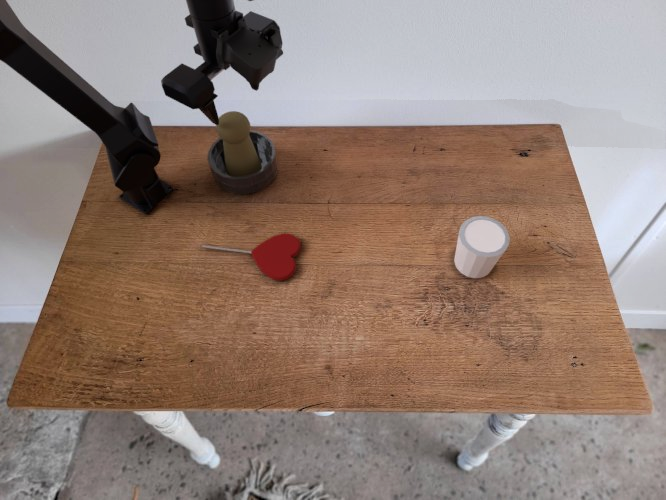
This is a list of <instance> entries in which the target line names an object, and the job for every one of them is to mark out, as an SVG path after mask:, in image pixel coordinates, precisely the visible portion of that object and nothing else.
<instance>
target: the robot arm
mask: <svg viewBox="0 0 666 500" xmlns="http://www.w3.org/2000/svg"><path fill="white" fill-rule="evenodd" d="M247 1H248V2H253V1H254V0H247ZM185 2H186V5H187V9H188V13H189V14H188V15H187V16H186V17H184V21H185V24H186V26H187V27H189V28H191V29H193V30H194V33H195V37H196V40H197V43H196V44H195V45H193V51H194V54H195V55H198V56H200V57H202V60H203V62H202V63H201V64H199V66H197V67H196V68H193V67H191V66H189V65H187V64H184V63H180V64H179V65H177V66H176V67H175V68H174V69H172V70H171V71H169V72H168V73H167V74H166V75H164V76H163V77H162V78H161V80H160V83H161V88H162V90H163V92H164V95H165V96H166V97H168V98H169V99H172V100H174V101H175V102H178V103H179V104H182V105H184V106H185V107H188V108H190V109H191V110H200V112H201V113H202V114H203V116H205V117H206V118H207V119H208V120H209V121H210V122H211V123H212V124H213V125H215V126H216V125H218V124H219V115H218V111H217V107H216V104H215V100H216V99H217V98H218V97H219V95H218V94H216V93H215V90H216V89H215V85H214V82H213V81H212V80H213V79H214V78H215V77H217V76H218V75H219V74H220V73H222V72H223V71H227V70H228V69H230V68H231V69H232V70H233V71H235V72H236V73H238V75H240V76H241V77H243V79H245V81H246V82H247V83H249V85H250V88H251V89H252V90H254V91H258V90H259V89H260V84H261V83H262V81H263V80H264V79H266V78H267V76H269V75H270V74H272V73H273V72H274V71H275V67H276V62H277V60H278V59H279V58H281V57H282V56H283V55H284V51H283V49H282V48H283V45H284V44H283V38H282V34H281V28H280V25H279V24H278V23H277V21H276V20H275V19H272V18H270V17H267V16H265V15H262V14H259V13H256V12H254V11H252V10H250V11H249V12H248V13H246V14H245V15H244V13H243V12H240V11H238V10H236V6H235V1H234V0H185ZM0 62H2V63H4V64H5V65H7V66H8V67H9V68H11V70H13V71H14V72H16V73H17V74H18V75H19V76H20V77H22V78H24V79H25V80H26V81H28V83H30V84H31V85H32V86H34V87H35V88H37V89H38V90H39V91H40V92H41V93H43V94H44V95H46V96H47V97H48V98H49V99H51V100H52V101H53V102H54V103H56V104H57V105H58V106H60V107H61V108H62V109H64V110H65V111H66V112H68V113H69V114H70V115H72V116H73V117H74V118H75V119H76V120H78V121H79V122H80V123H82V124H83V125H84V126H86V127H87V128H88V129H90V130H91V131H92V132H93V133H95V134H96V135H97V136H98V138H99V140H100V141H101V142H102V144H103V145H104V147H105V151H106V155H107V160H108V164H109V168H110V172H111V175H112V180H113V183H114V187H115V188H117V189H119V190H120V191H121V192H122V193H121V194H120V195H119V196H118V198H119V199H120V200H121V201H122V202H123V203H125V204H127V205H128V206H131V207H132V208H134V209H136V211H138V212H141V213H143V214H144V215H149V214H150V213H151V212H152V211H153V210H154V209H156V208H157V207H158V206H159V205H160V204H161V203H162V202H164V200H166V198H167V197H169V195H171V193H173V192H174V189H175V188H174V186H172V185H171V184H169V183H168V182H165V181H164V180H162V179H160V177H159V175H158V173H157V170H156V167H157V166H158V164H159V163H160V162H161V157H162V155H161V151H160V148H159V146H160V145H159V141H158V139H157V136H156V133H155V130H154V127H153V123H152V120H151V118H150V116H149V115H145V114H144V113H142V112H141V111H140V110H139V109H138V108H137V106H136V105H135V104H134V103H133V102H129V104H127V106H126V107H123V106H119V105H115V104H114V103H112V102H111V101H110V100H108V99H107V98H106V97H105V96H104V95H102V93H100V92H99V91H98V90H97V89H96V88H95V87H93V86H92V85H91V84H90V83H89V82H88V81H87V80H86V79H85V78H83V76H81V75H80V74H79V73H78V72H76V71H75V70H74V69H73V68H72V67H70V65H69V64H68V63H66V62H65V61H64V60H63V59H61V57H60V56H58V55H57V54H56V53H54V52H53V51H52V50H51V49H50V48H49V47H47V45H46V44H44V43H43V42H42V41H41V40H40V39H39V38H37V37H36V36H35V35H34V34H33V33H32V32H31V31H30V30H28V29H27V28H26V26H24V24H23V23H22V22H21V20H20V19H19V17H18V15H17V14H16V12H15V11H14V9H12V7H11V6H10V4H9V3H8V1H7V0H0Z"/></svg>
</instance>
